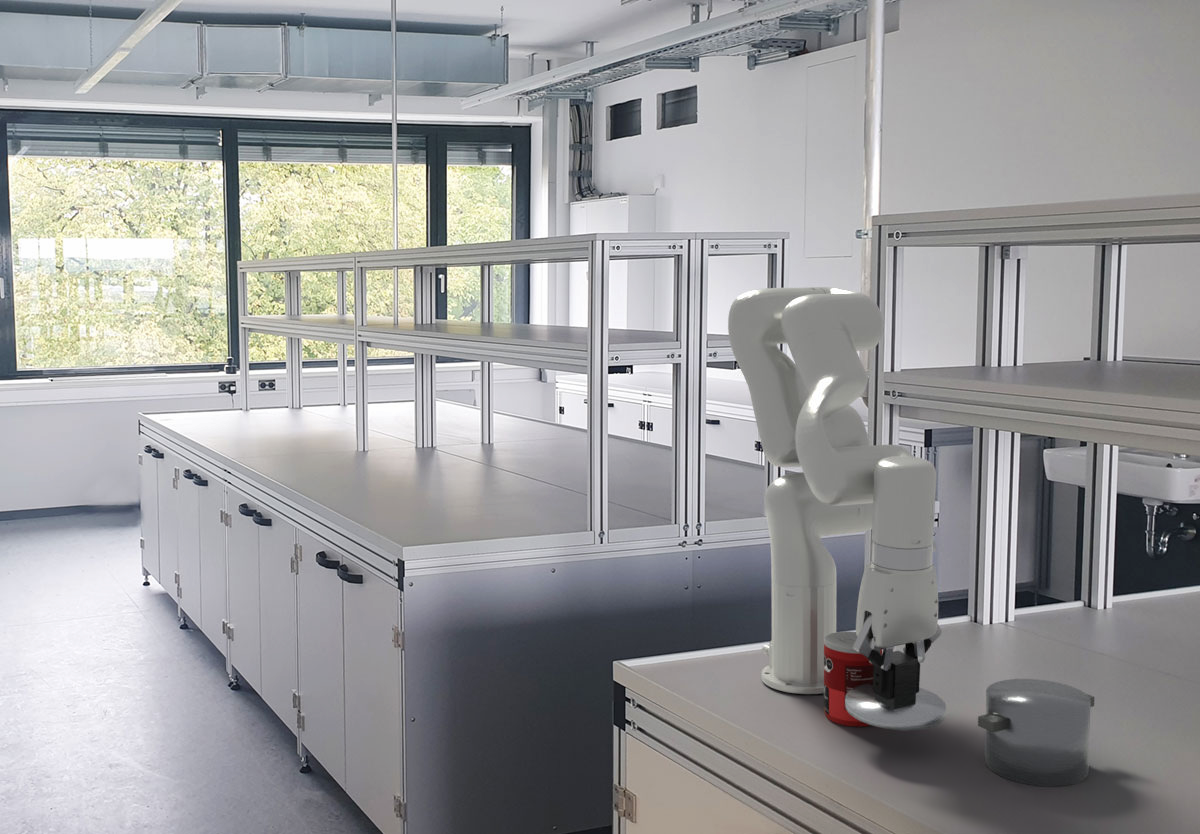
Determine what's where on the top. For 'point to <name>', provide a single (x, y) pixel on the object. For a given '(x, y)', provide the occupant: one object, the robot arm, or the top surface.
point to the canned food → (843, 675)
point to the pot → (1037, 732)
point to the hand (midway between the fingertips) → (895, 691)
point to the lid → (897, 701)
